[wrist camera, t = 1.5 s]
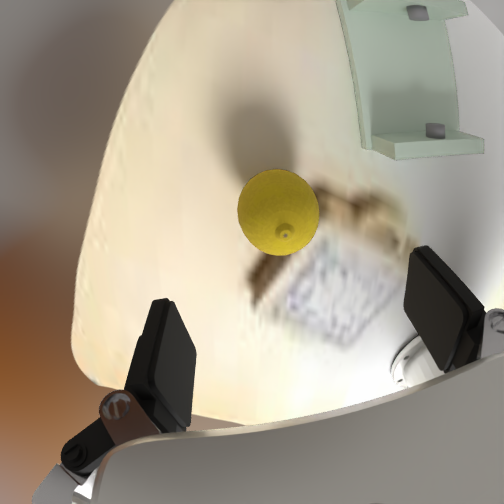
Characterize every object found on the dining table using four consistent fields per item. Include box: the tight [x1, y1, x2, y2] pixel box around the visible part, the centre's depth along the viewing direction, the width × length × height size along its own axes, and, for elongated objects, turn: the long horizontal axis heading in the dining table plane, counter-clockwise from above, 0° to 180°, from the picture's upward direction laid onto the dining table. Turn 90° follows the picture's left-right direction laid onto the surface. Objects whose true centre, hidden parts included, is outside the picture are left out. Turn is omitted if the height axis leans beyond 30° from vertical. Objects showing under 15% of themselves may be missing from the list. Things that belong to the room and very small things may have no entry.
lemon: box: [237, 169, 319, 255], centre depth 20 cm, size 6×6×8 cm
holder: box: [336, 0, 484, 160], centre depth 17 cm, size 13×10×5 cm
